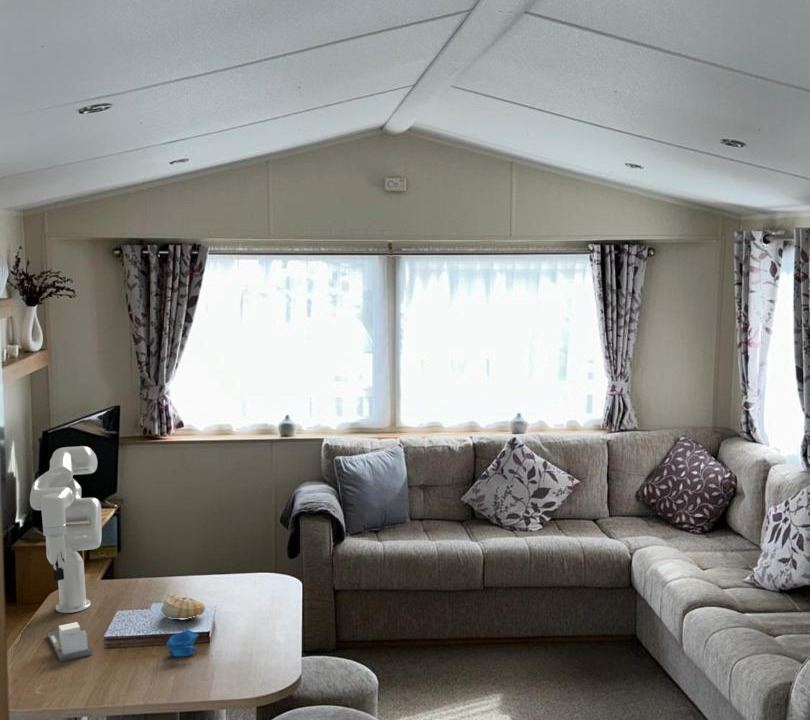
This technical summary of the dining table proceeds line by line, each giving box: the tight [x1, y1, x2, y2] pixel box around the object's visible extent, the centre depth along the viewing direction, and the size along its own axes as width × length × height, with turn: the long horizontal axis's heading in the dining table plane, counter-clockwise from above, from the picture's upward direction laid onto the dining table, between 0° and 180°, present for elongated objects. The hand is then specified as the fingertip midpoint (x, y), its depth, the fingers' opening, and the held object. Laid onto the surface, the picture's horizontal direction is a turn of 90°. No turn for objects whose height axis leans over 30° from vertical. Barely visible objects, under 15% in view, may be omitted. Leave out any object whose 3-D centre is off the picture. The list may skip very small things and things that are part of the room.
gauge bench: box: [47, 629, 93, 663], centre depth 326 cm, size 24×10×8 cm, turn 30°
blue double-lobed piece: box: [165, 629, 200, 658], centre depth 316 cm, size 7×9×12 cm
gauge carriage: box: [55, 621, 81, 644], centre depth 323 cm, size 5×8×5 cm, turn 120°
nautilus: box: [160, 594, 206, 618], centre depth 349 cm, size 8×22×15 cm
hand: (58, 579), depth 332 cm, fingers closed
